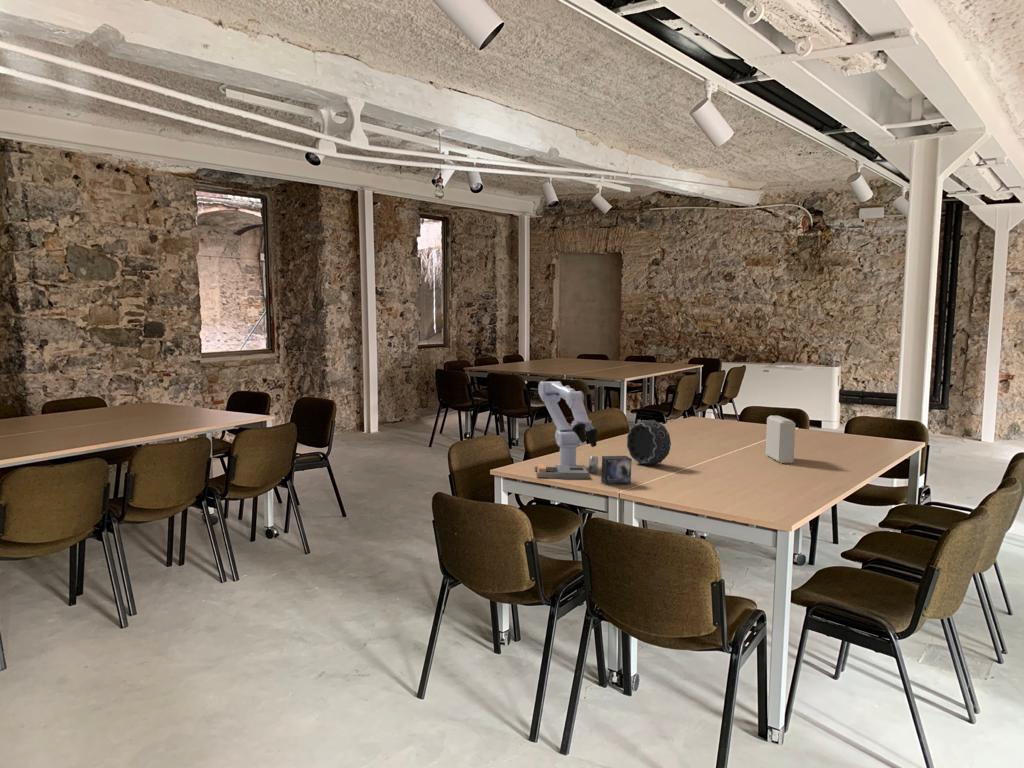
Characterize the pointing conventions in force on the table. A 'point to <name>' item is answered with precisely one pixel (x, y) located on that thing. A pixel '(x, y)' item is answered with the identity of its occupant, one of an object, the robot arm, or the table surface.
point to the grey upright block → (780, 439)
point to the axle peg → (593, 465)
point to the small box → (616, 470)
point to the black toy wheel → (648, 442)
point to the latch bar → (541, 468)
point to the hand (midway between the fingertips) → (589, 443)
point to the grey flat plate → (566, 472)
